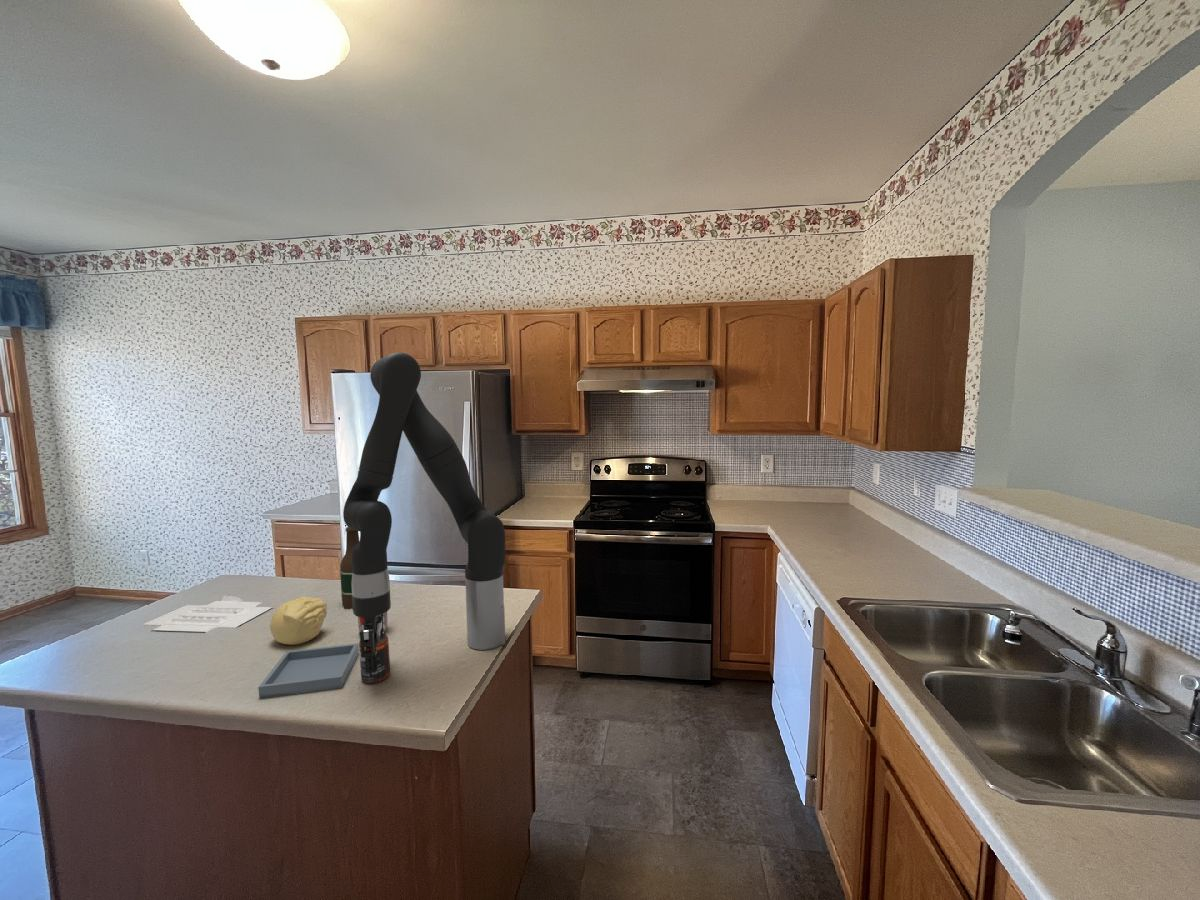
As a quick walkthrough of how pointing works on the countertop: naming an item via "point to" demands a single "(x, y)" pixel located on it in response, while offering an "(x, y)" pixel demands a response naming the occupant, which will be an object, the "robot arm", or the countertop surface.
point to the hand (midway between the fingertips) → (375, 663)
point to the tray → (310, 671)
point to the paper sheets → (209, 616)
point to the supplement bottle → (382, 661)
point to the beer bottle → (348, 568)
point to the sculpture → (298, 620)
